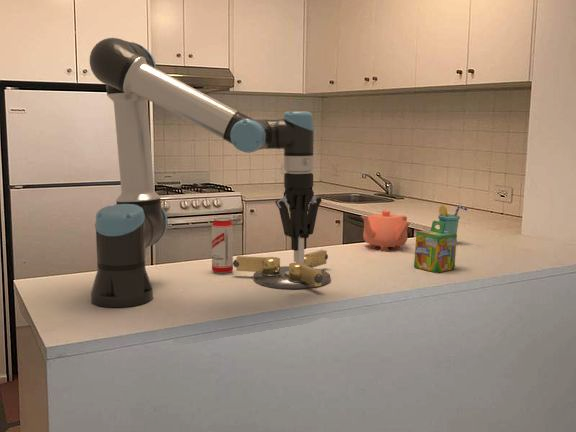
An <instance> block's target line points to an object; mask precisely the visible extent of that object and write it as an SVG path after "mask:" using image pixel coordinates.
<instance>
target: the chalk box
mask: <svg viewBox="0 0 576 432" xmlns="http://www.w3.org/2000/svg"><path fill="white" fill-rule="evenodd" d="M437 225H439V228H438V229H437V228H436V226H437ZM440 226H441V228H440ZM444 227H445V222H440V221H439V220H432V224H431V227H430V229H426V230H418V231H416V233H415V245H414V246H415V248H414V259H413V260H414V263H413V268H415V269H420V270H423V271H428V272H431V273H434V274H439V273H443V272H448V271H452V270H455V267H456V266H455V265H456V254H457V252H456V251H457V236H458V233H457V234H456V233H453V232H448V231H444Z"/></svg>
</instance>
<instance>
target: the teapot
mask: <svg viewBox="0 0 576 432" xmlns="http://www.w3.org/2000/svg"><path fill="white" fill-rule="evenodd" d="M360 218H362V220H363V234H362V235H363V236H362V238H363V240H364V241H365V243H366V244H368V246H367V247H368V249H369V248H370V249H375V248H376V247H380V249H379V251H382V252H388V251H389V248H392V247H393V248H394V250H395V249H396V250H402V247H401V246H404V245H405V244H406V243H407V242H408V228H409V226H410V222H409V221H407V219H408V217H407V216H406V215H403V214H402V215H397V214H391V210H387V209H384V210H381V213H376V214H374V213H372V214H369V215H368V216H363V215H362V216H361V215H360Z"/></svg>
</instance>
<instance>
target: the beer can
mask: <svg viewBox="0 0 576 432" xmlns="http://www.w3.org/2000/svg"><path fill="white" fill-rule="evenodd" d="M233 234H234V227H233V222H232V219H231V218H228V217H216V218H213V222H212V223H211V270H212V272H214V274H216V273H217V274H216V275H226V274H227V273H228V274H230V273H232V271H233V270H234V266H233V262H234V246H233V245H234V242H233V241H234V239H233V238H234V235H233ZM228 274H227V275H228Z"/></svg>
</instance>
